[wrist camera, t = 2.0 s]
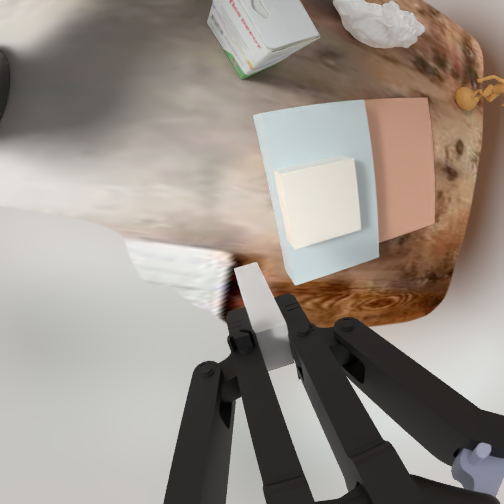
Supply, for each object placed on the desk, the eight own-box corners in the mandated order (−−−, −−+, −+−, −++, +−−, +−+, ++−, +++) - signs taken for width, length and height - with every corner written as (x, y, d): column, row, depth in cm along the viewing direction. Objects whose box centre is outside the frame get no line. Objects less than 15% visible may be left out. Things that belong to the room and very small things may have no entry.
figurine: (441, 98, 32) (501, 102, 22) (444, 66, 30) (502, 64, 19) (469, 118, 34) (524, 128, 24) (472, 88, 32) (526, 93, 21)
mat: (346, 101, 31) (349, 100, 30) (424, 97, 32) (427, 97, 31) (364, 245, 39) (366, 247, 39) (432, 222, 41) (434, 223, 40)
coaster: (273, 170, 29) (280, 174, 26) (342, 155, 29) (353, 158, 27) (287, 240, 32) (294, 249, 30) (350, 222, 33) (361, 229, 31)
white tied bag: (314, 17, 27) (337, 43, 22) (335, -27, 21) (368, -15, 15) (388, 51, 30) (424, 87, 25) (411, 14, 24) (455, 43, 19)
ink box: (205, 22, 24) (214, -27, 14) (246, 6, 24) (273, -42, 13) (240, 81, 28) (267, 56, 17) (280, 64, 28) (324, 36, 17)
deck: (252, 115, 30) (260, 113, 26) (346, 101, 31) (363, 99, 27) (285, 270, 38) (295, 285, 35) (364, 245, 39) (379, 257, 36)
